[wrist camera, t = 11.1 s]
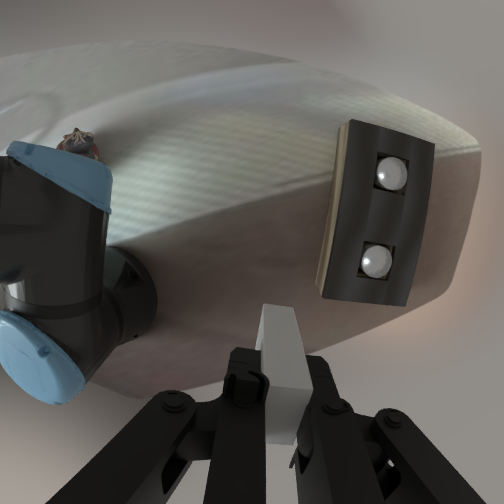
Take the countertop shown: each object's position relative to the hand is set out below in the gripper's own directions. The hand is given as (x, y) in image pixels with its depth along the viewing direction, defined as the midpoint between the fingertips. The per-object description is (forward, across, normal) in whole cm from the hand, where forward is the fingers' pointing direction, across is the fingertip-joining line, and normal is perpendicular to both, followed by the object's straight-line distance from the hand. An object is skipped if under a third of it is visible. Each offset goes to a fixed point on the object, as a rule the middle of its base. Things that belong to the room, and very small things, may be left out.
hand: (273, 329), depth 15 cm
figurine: (+25, -30, +8) cm, 40 cm away
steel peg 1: (+26, +14, +12) cm, 32 cm away
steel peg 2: (+26, +14, +1) cm, 30 cm away
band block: (+27, +14, +6) cm, 30 cm away
